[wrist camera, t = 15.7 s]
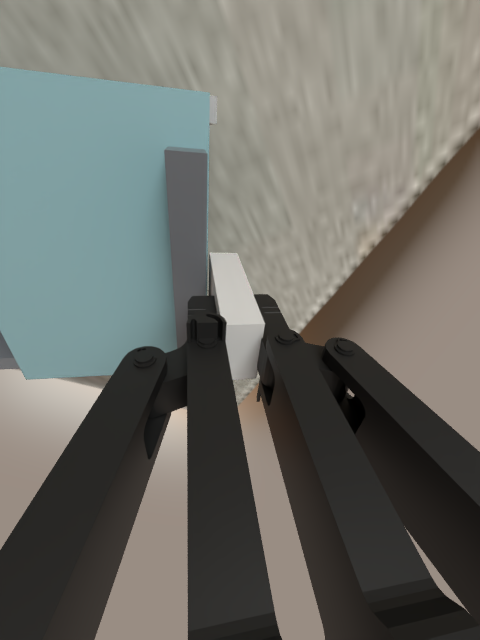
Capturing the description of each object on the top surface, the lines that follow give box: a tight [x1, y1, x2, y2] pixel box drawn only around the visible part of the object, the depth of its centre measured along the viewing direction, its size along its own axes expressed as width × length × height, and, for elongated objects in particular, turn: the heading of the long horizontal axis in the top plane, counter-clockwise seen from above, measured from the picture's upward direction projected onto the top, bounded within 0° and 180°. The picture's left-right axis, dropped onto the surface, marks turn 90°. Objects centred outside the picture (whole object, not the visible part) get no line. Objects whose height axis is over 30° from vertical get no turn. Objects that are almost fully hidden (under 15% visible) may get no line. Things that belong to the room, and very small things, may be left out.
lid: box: [0, 67, 210, 380], centre depth 14 cm, size 12×16×3 cm
